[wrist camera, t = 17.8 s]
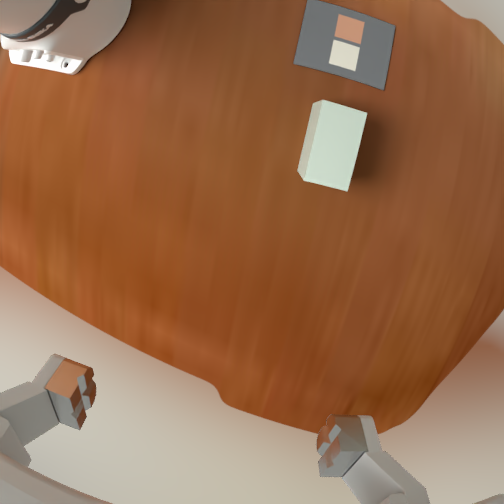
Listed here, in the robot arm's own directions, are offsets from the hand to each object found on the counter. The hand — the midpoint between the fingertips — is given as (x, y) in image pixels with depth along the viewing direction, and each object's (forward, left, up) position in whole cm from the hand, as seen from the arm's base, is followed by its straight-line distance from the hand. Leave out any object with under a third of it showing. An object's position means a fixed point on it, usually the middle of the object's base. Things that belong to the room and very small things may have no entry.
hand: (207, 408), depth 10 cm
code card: (+8, +22, -34) cm, 41 cm away
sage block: (+8, +8, -34) cm, 36 cm away
